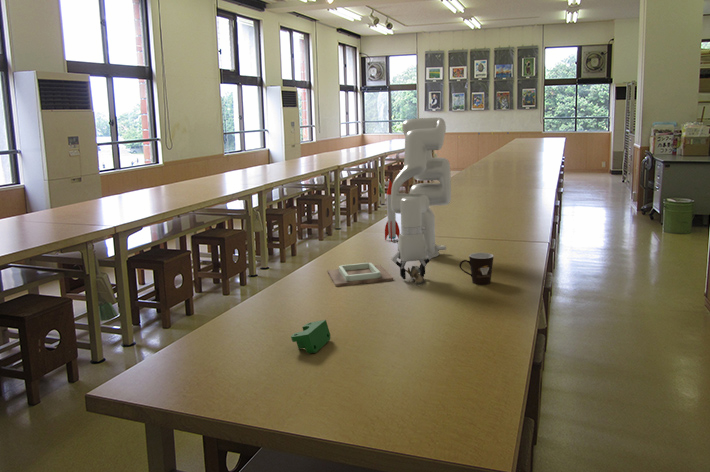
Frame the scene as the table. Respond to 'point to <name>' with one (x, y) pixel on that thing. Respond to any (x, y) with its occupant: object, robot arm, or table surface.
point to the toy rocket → (391, 218)
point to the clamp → (312, 336)
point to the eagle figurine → (415, 275)
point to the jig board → (359, 274)
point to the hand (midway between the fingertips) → (412, 276)
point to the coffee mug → (480, 267)
